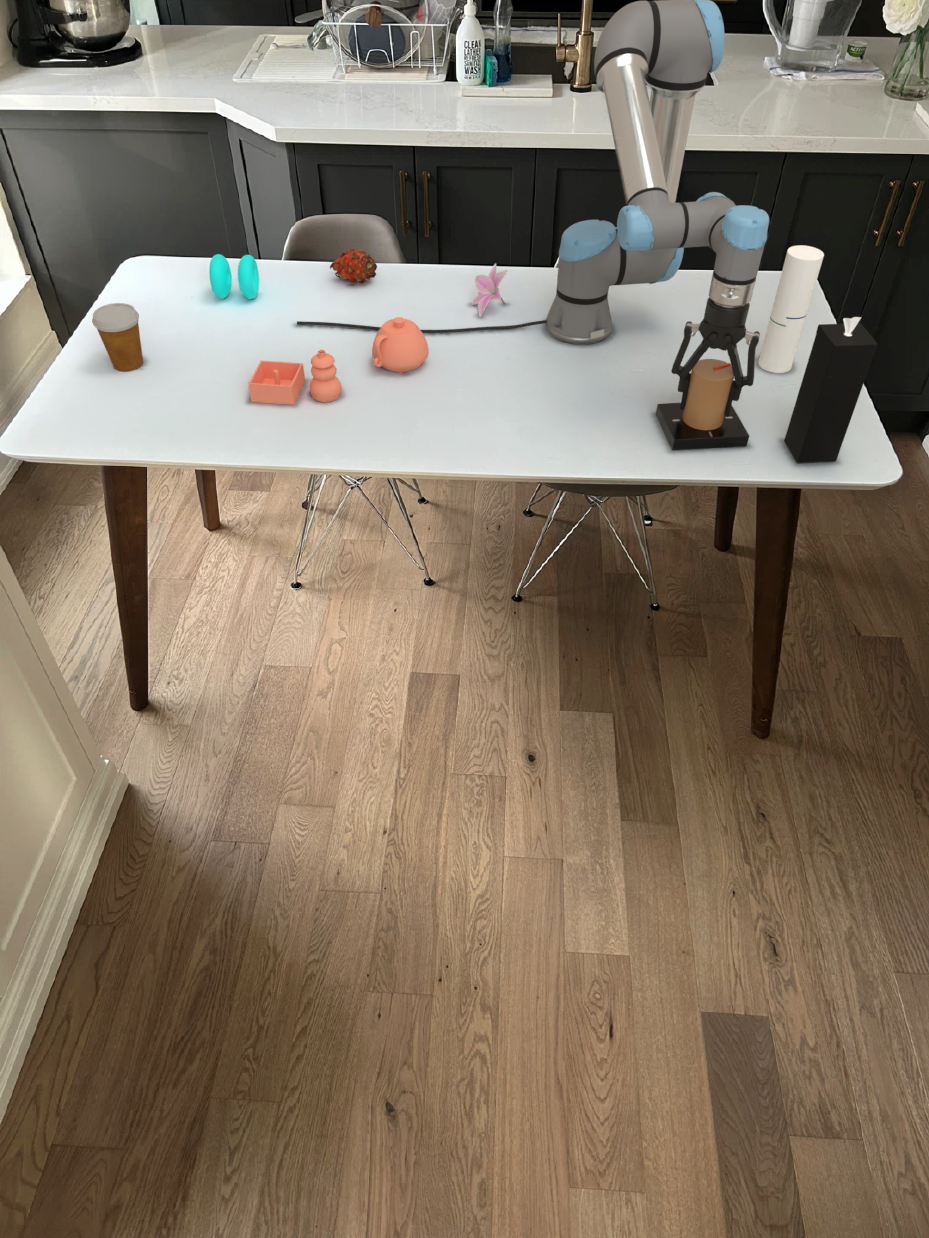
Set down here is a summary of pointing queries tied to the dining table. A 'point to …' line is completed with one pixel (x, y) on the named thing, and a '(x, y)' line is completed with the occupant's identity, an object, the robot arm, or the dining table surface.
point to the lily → (488, 288)
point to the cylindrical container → (790, 308)
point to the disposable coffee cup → (120, 335)
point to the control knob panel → (692, 438)
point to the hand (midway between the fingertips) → (704, 409)
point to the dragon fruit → (354, 266)
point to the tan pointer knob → (708, 394)
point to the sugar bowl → (399, 346)
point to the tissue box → (829, 390)
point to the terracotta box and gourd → (294, 381)
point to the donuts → (223, 279)
